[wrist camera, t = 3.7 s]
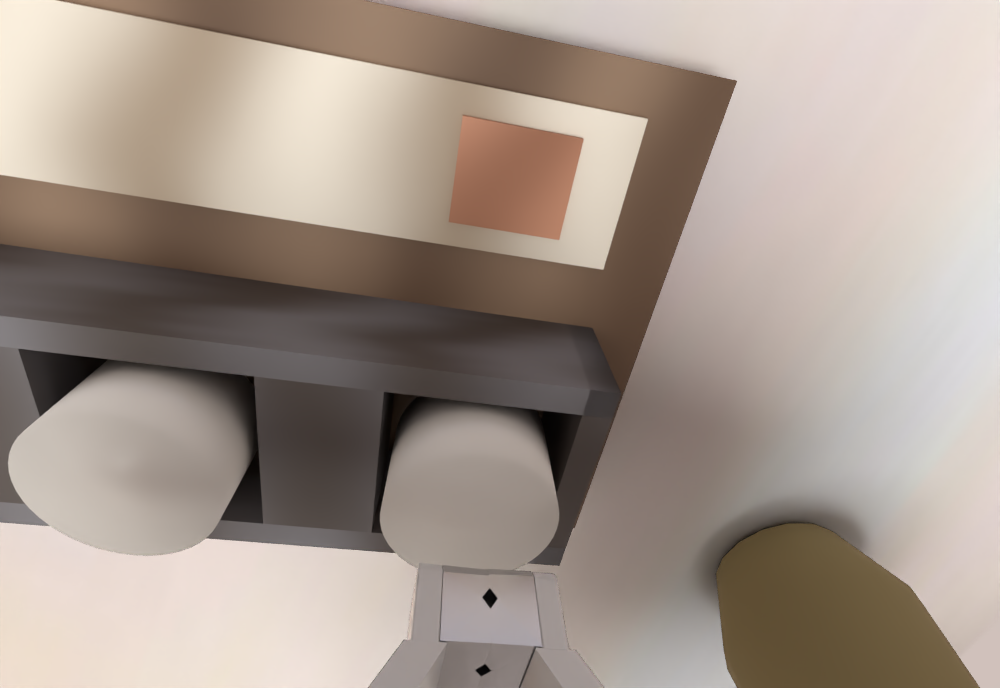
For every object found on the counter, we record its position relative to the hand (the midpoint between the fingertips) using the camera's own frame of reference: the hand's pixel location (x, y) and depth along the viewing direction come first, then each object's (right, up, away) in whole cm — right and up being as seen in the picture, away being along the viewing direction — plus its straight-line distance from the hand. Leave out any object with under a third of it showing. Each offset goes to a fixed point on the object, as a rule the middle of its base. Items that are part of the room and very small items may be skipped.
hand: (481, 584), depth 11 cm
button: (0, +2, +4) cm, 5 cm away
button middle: (-8, +3, +3) cm, 9 cm away
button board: (-8, +7, +5) cm, 12 cm away
